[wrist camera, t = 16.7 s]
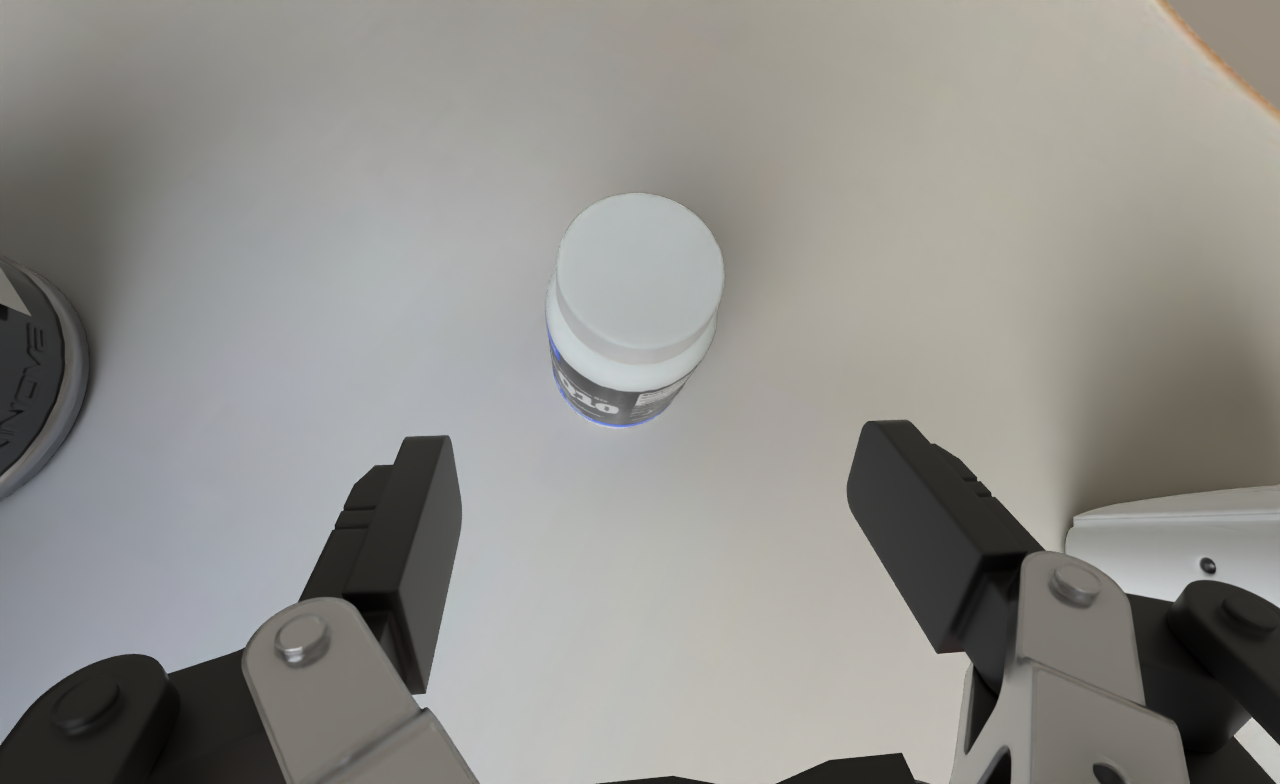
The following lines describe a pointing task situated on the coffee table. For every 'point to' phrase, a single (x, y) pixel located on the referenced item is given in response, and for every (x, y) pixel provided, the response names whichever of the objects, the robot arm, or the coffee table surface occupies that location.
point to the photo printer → (1185, 542)
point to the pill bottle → (631, 306)
